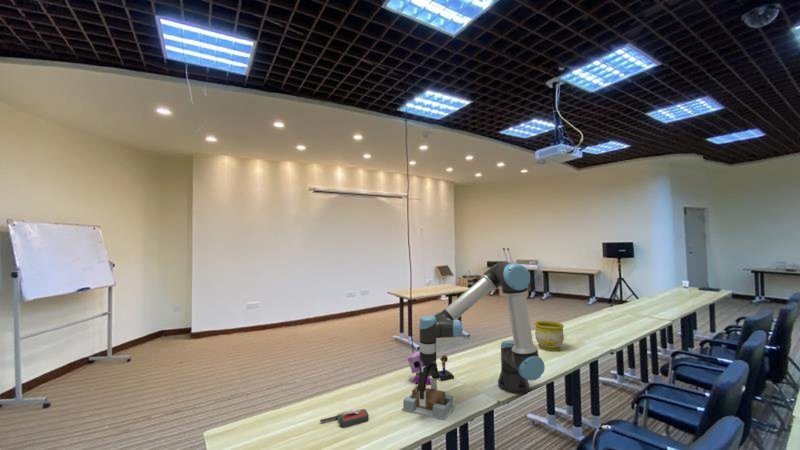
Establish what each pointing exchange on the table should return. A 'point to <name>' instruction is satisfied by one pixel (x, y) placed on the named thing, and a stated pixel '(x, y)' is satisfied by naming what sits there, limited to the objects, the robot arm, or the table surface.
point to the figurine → (444, 371)
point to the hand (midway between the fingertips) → (428, 399)
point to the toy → (416, 366)
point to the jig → (437, 412)
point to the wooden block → (430, 397)
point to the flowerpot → (549, 335)
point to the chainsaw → (350, 418)
